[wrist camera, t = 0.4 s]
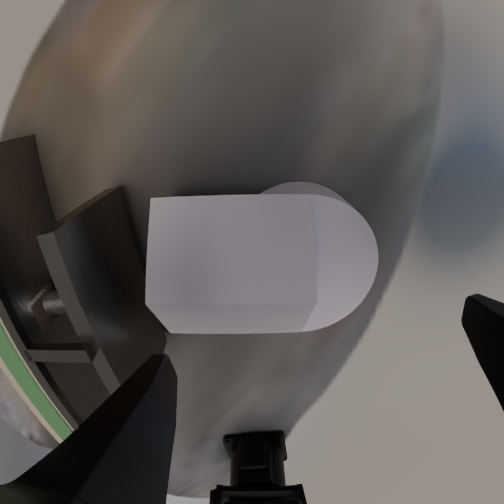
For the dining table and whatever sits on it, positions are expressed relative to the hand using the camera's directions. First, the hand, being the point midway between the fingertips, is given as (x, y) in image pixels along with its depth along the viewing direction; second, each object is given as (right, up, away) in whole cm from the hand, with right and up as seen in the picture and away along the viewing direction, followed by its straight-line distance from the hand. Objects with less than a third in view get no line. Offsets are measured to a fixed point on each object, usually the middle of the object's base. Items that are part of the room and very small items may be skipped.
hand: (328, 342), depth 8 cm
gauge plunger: (-13, +1, +13) cm, 18 cm away
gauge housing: (-18, 0, +14) cm, 23 cm away
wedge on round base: (-1, +3, +13) cm, 14 cm away
